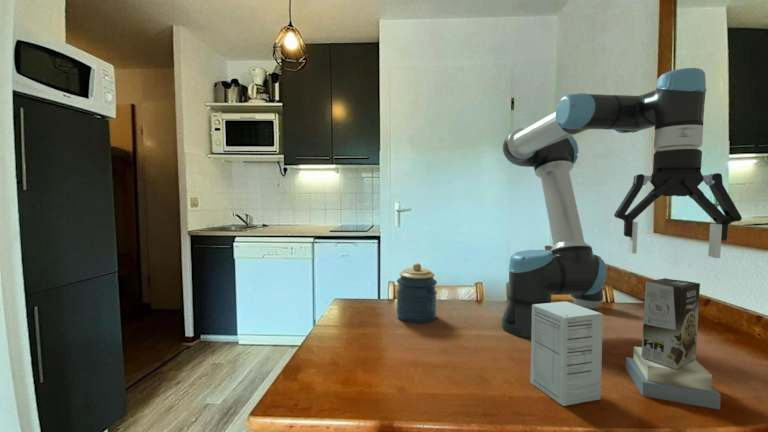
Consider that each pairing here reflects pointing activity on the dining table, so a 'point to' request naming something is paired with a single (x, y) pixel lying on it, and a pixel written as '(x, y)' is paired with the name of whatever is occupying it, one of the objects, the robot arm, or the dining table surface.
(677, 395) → the grey base slab
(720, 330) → the dining table surface
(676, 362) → the coffee box
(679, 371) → the birch top slab
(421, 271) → the canister
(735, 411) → the dining table surface
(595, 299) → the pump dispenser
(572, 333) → the supplement box
